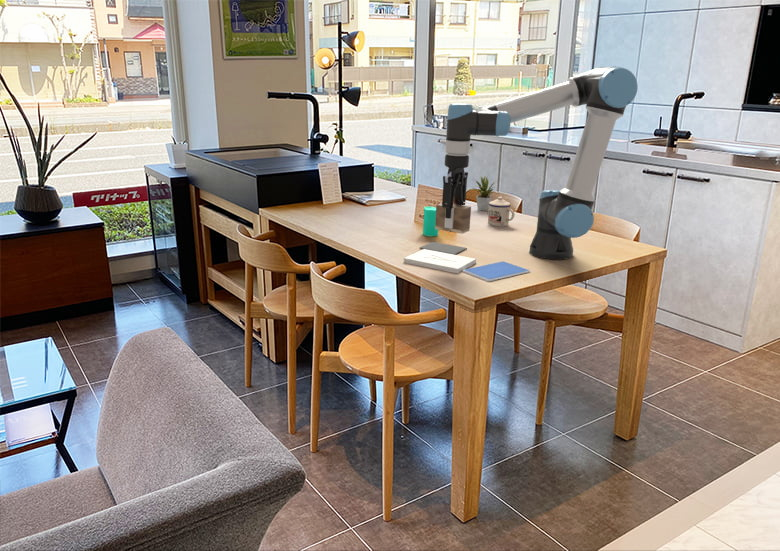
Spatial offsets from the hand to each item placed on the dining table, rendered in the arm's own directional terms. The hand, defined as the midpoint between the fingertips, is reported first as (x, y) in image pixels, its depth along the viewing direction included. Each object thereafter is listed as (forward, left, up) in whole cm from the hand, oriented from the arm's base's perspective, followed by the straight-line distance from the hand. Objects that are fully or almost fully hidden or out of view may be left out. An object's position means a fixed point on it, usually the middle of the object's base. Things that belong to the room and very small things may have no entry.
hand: (452, 226), depth 206 cm
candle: (+25, -32, -13) cm, 43 cm away
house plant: (+29, -89, -13) cm, 95 cm away
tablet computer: (-16, -2, -14) cm, 21 cm away
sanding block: (0, 0, -1) cm, 1 cm away
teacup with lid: (+9, -65, -13) cm, 67 cm away
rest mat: (+11, -16, -13) cm, 24 cm away
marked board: (+4, 0, -13) cm, 14 cm away
